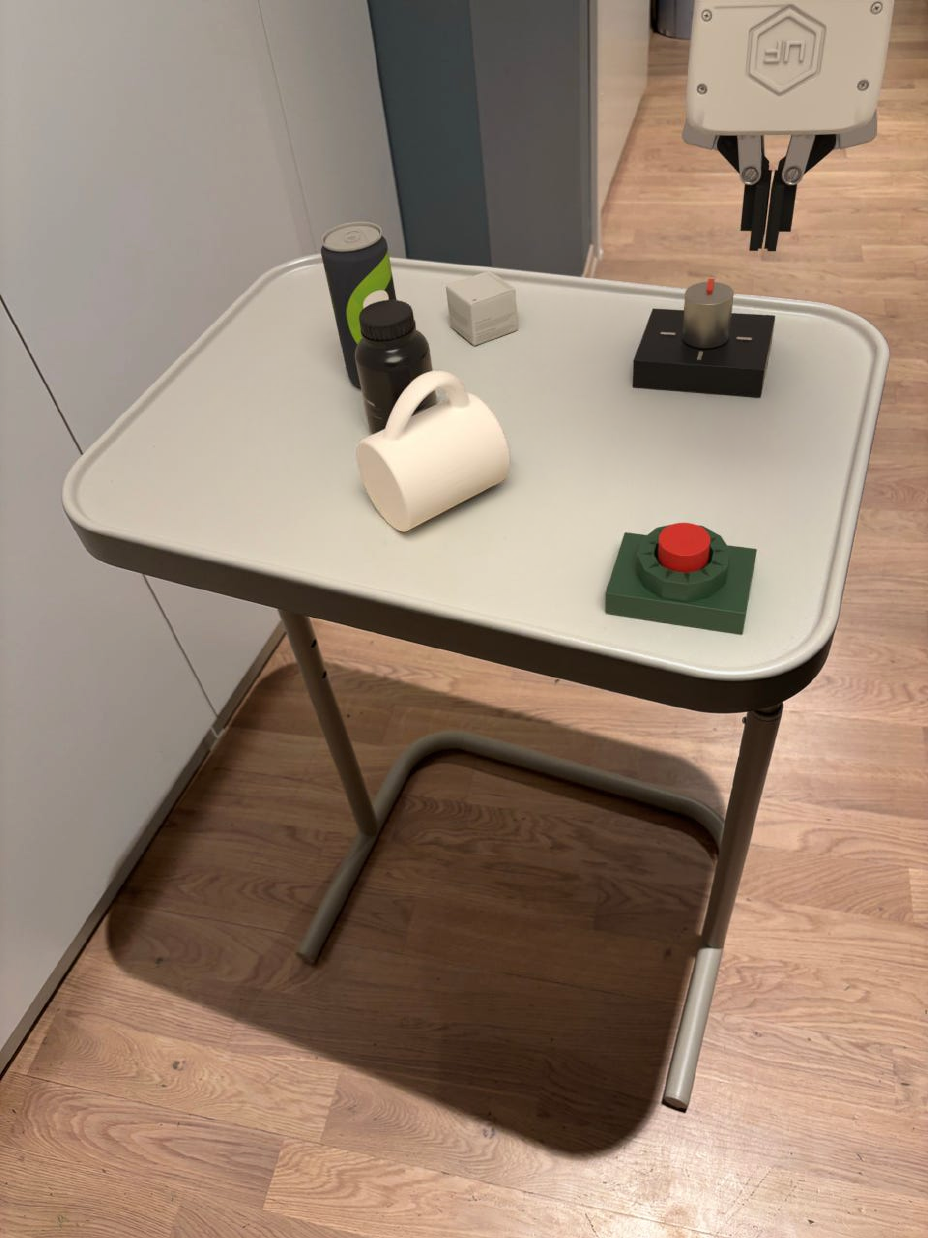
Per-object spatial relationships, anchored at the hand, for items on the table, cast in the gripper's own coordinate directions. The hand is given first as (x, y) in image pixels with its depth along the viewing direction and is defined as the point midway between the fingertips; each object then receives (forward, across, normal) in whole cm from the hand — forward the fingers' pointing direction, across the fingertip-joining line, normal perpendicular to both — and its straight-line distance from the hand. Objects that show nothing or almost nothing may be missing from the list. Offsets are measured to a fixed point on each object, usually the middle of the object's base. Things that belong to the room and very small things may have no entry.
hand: (764, 240), depth 59 cm
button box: (+24, -3, -8) cm, 25 cm away
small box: (+24, -29, +29) cm, 47 cm away
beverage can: (+24, -37, +18) cm, 48 cm away
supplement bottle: (+24, -32, +10) cm, 41 cm away
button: (+20, -3, -8) cm, 22 cm away
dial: (+20, -5, +24) cm, 32 cm away
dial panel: (+24, -5, +24) cm, 34 cm away
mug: (+24, -25, 0) cm, 34 cm away
